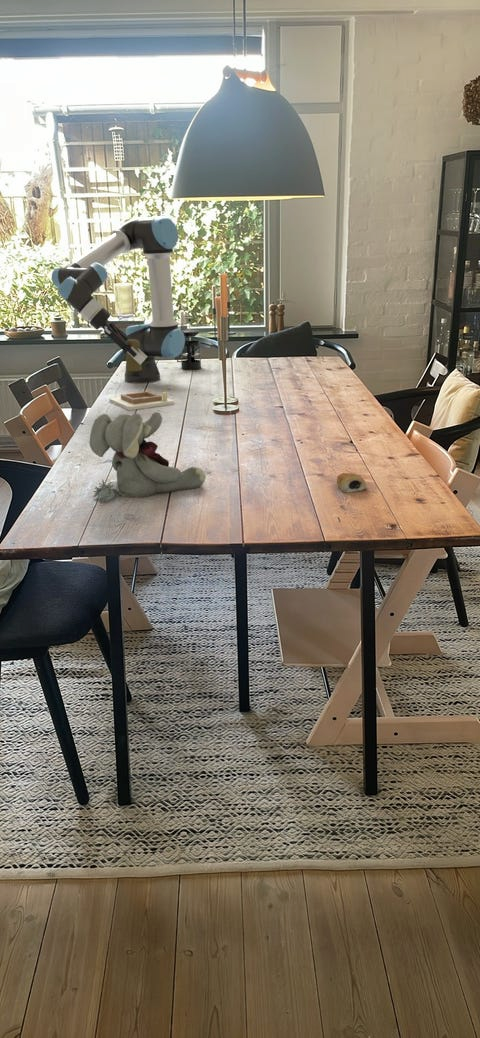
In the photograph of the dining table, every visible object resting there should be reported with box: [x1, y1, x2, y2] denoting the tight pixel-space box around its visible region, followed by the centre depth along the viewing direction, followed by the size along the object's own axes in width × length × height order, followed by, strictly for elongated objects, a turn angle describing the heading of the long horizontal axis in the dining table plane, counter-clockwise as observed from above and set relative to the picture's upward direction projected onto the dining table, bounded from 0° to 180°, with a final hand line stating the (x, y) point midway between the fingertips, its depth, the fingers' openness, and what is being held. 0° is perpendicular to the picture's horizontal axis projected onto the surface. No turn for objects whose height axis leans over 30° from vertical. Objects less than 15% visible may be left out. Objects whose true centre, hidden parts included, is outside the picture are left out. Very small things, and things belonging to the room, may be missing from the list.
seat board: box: [108, 390, 175, 411], centre depth 284 cm, size 18×18×4 cm
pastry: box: [336, 472, 367, 493], centre depth 189 cm, size 9×7×4 cm
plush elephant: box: [89, 411, 206, 504], centre depth 186 cm, size 27×22×21 cm
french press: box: [176, 316, 202, 371], centre depth 350 cm, size 12×9×23 cm
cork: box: [125, 339, 142, 371], centre depth 280 cm, size 6×6×11 cm
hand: (143, 360), depth 281 cm, fingers closed on cork, 5 cm apart
